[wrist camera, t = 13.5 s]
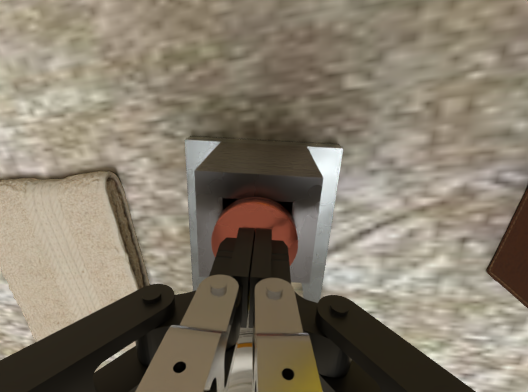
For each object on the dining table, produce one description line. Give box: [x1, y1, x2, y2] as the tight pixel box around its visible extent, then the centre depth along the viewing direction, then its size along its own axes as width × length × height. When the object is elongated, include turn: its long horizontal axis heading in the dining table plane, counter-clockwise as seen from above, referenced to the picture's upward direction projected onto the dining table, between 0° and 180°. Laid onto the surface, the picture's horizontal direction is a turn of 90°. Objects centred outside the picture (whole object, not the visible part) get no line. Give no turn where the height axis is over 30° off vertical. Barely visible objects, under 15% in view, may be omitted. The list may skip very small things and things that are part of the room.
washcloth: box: [0, 171, 150, 351], centre depth 25 cm, size 12×18×3 cm, turn 5°
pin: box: [211, 197, 298, 265], centre depth 17 cm, size 4×4×8 cm
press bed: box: [185, 136, 343, 303], centre depth 20 cm, size 18×11×8 cm, turn 177°
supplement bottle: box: [227, 310, 253, 392], centre depth 20 cm, size 6×6×10 cm
